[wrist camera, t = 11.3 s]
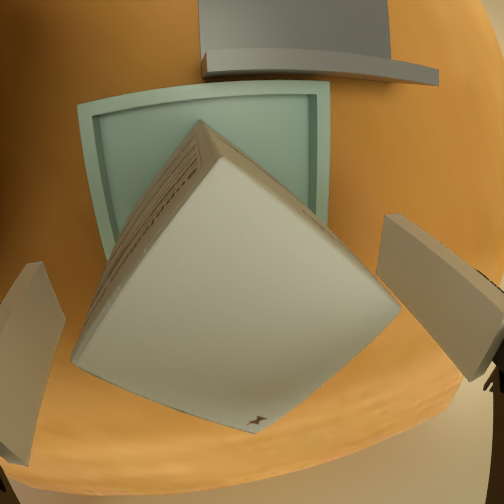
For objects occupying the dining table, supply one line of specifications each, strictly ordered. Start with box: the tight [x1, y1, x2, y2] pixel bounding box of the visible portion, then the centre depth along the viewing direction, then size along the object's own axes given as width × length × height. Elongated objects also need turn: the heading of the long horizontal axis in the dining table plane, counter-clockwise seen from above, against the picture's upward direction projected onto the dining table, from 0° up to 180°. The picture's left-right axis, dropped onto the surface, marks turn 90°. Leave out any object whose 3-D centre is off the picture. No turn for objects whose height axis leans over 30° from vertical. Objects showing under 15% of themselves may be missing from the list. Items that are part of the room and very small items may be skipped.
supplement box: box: [71, 119, 401, 434], centre depth 14 cm, size 7×7×13 cm
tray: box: [77, 80, 330, 262], centre depth 19 cm, size 14×14×2 cm
